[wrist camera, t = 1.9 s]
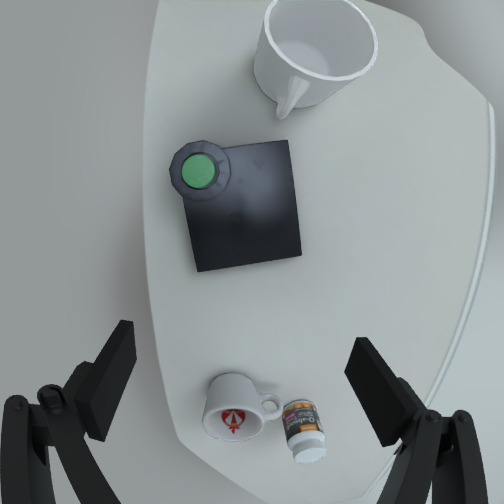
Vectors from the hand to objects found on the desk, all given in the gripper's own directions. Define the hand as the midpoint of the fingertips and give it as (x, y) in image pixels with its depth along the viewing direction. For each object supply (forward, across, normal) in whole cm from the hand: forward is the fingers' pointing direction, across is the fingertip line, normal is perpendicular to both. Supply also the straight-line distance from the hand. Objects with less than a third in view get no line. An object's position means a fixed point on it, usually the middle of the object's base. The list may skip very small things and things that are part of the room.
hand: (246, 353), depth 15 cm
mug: (+19, -4, -21) cm, 28 cm away
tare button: (+16, +5, -9) cm, 19 cm away
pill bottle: (+19, -12, +25) cm, 34 cm away
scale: (+18, 0, -6) cm, 19 cm away
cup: (+19, -3, +20) cm, 27 cm away
